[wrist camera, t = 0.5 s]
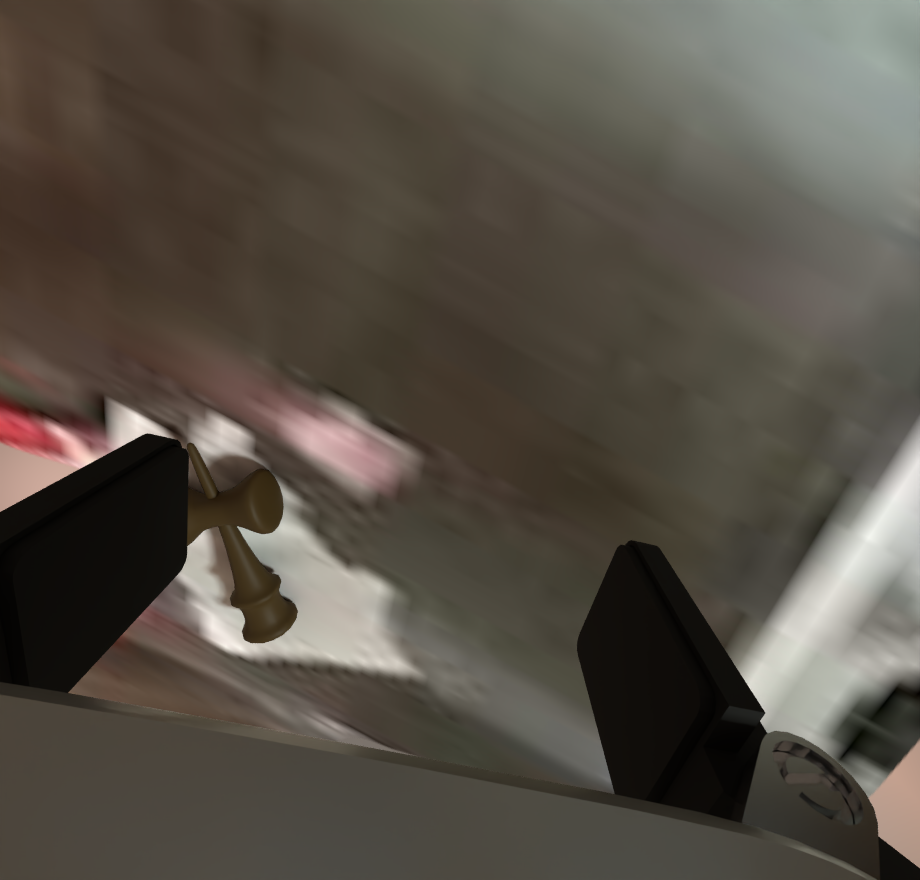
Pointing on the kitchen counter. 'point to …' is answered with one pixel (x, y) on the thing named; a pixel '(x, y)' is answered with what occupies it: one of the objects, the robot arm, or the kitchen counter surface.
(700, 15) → the kitchen counter surface
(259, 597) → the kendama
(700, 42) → the kitchen counter surface
